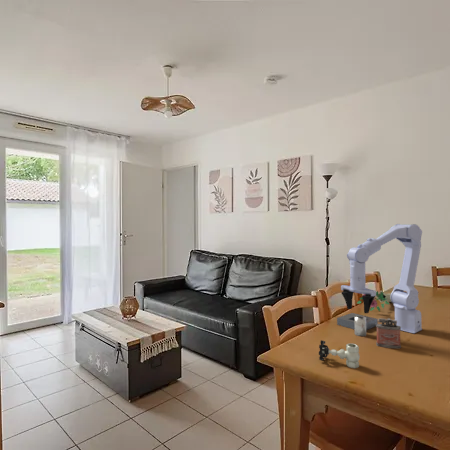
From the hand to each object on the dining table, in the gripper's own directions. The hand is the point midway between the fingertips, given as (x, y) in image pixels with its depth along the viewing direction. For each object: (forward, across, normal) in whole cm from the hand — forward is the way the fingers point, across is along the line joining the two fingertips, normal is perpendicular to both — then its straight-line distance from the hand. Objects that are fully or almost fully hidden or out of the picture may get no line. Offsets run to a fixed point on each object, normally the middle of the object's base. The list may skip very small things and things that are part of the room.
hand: (357, 310), depth 132 cm
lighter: (+10, +14, -2) cm, 17 cm away
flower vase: (+10, -15, +43) cm, 47 cm away
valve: (+10, +12, -29) cm, 33 cm away
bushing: (+10, +1, 0) cm, 10 cm away
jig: (+9, -7, +9) cm, 15 cm away
